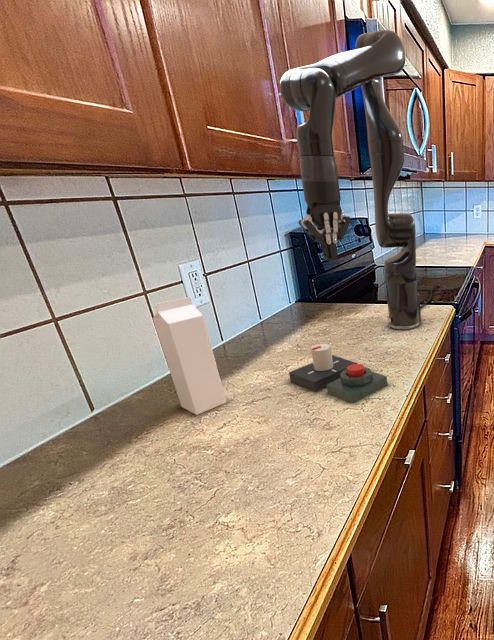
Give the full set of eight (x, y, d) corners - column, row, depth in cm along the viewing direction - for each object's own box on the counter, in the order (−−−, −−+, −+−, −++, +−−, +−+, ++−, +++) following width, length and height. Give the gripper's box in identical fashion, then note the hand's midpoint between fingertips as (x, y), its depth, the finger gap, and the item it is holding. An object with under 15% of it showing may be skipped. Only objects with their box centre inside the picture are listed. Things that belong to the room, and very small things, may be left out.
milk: (227, 402, 87) (199, 298, 78) (196, 415, 82) (163, 306, 73) (211, 395, 90) (182, 294, 81) (180, 407, 85) (146, 301, 76)
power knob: (326, 362, 99) (323, 341, 97) (337, 366, 97) (334, 345, 95) (310, 367, 96) (306, 346, 94) (321, 372, 94) (317, 350, 92)
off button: (357, 369, 93) (356, 362, 92) (368, 373, 91) (367, 366, 91) (344, 375, 90) (343, 368, 90) (355, 379, 89) (354, 372, 88)
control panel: (333, 364, 105) (332, 354, 103) (358, 372, 100) (357, 362, 99) (290, 382, 95) (288, 371, 94) (316, 392, 91) (314, 381, 90)
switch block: (362, 376, 98) (360, 360, 96) (387, 385, 94) (386, 369, 92) (327, 393, 90) (324, 376, 89) (353, 403, 86) (350, 386, 85)
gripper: (304, 179, 84) (317, 266, 91) (355, 179, 94) (364, 257, 101) (282, 179, 88) (296, 263, 95) (333, 179, 98) (342, 254, 105)
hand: (331, 260), depth 98 cm, fingers closed
